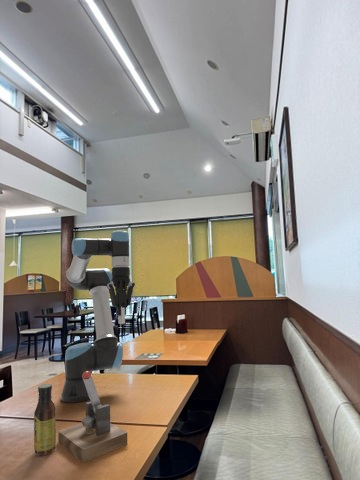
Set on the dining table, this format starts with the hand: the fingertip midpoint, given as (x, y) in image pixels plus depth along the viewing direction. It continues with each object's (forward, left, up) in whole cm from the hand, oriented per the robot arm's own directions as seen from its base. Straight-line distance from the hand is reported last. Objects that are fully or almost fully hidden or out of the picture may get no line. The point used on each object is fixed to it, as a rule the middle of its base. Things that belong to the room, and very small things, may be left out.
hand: (121, 323), depth 137 cm
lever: (+16, -21, -28) cm, 38 cm away
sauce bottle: (+10, -35, -35) cm, 50 cm away
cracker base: (+16, -22, -34) cm, 44 cm away
